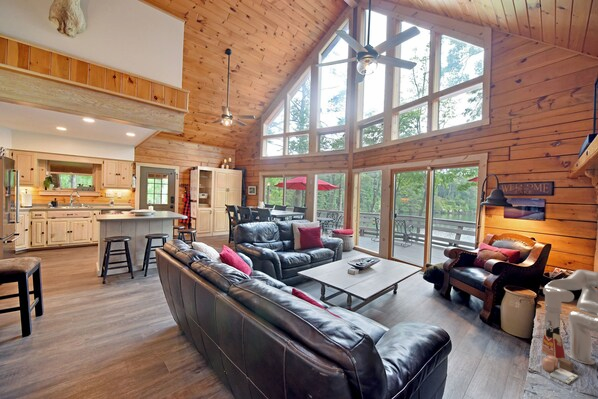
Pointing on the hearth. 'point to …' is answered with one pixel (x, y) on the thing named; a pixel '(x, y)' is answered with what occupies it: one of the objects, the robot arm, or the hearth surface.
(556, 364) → the peach egg shape
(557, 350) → the milk carton
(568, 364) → the brown cube
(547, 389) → the hearth surface
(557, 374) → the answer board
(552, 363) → the egg
